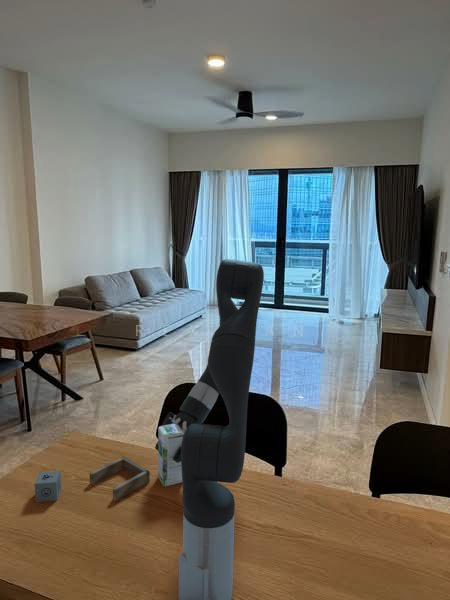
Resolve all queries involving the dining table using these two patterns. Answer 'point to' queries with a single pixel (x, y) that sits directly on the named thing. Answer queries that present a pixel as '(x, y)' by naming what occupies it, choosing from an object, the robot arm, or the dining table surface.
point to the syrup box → (169, 454)
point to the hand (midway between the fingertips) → (166, 455)
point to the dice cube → (48, 486)
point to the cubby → (127, 486)
